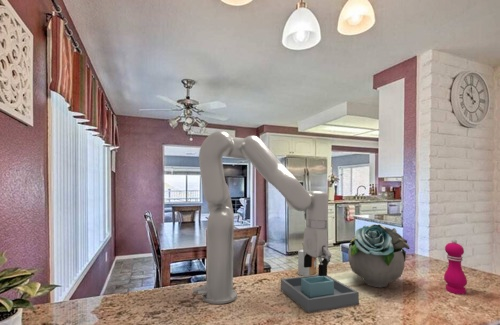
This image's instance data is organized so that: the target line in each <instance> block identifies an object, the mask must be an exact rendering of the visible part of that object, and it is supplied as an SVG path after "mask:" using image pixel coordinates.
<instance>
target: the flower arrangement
mask: <svg viewBox="0 0 500 325" xmlns="http://www.w3.org/2000/svg"><path fill="white" fill-rule="evenodd" d="M404 248H405V249H406V250H410V248H411V247H410V245H409V244H408V240H406V239H405V238H404V237H403V236H402V235H401V234H400V233H398V232H397V229H396V227H395V228H390V227H385V226H384V225H382V224H371V225H367V226H366V225H363V226H362V227H360V228H357V229H356V230H355V233H354V236H353V237H352V239H351V240H350V242H349V244H348V252H347V255H348V256H347V258H348V264H349V266H350V269H351V271H352V272H353V273H354V274H355V275H357V276H358V277H359V278H361V279H363V281H364V283H365V284H366V286H367V285H368V286H370V287H372V288H373V287H375V288H385V287H387V286H388V284H389V283H391V282H395V281H396V280H398V279H400V278H401V277H402V275H403V272H404V269H405V262H406V259H407V258H406V257H407V256H406V255H407V252H406V250H405V249H404Z"/></svg>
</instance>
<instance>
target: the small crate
mask: <svg viewBox="0 0 500 325" xmlns="http://www.w3.org/2000/svg"><path fill="white" fill-rule="evenodd" d="M301 292H302V293H303V294H304V295H306V296H307V297H308V298H316V297H323V296H329V295H334V281H333V280H331V279H329V278H328V277H326V276H317V277H309V278H301Z"/></svg>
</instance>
